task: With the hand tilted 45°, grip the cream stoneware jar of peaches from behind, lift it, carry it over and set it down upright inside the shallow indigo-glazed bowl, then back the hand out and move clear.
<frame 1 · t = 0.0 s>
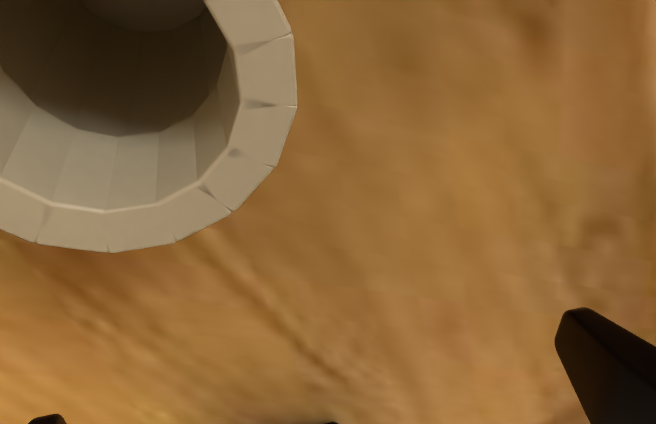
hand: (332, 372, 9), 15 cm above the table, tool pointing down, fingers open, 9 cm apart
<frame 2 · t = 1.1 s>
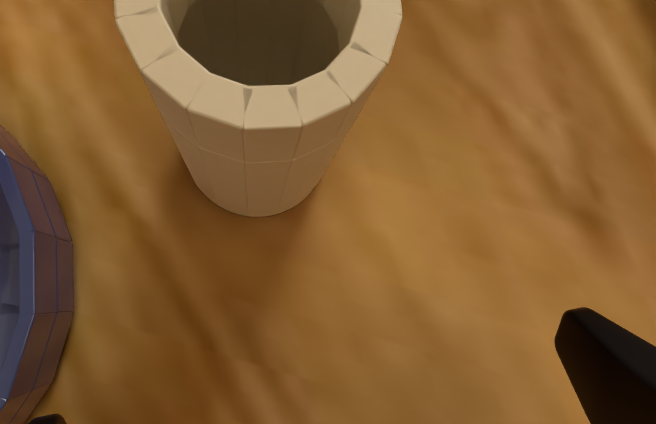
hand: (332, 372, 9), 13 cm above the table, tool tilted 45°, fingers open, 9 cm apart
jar: (256, 148, 24), on the table
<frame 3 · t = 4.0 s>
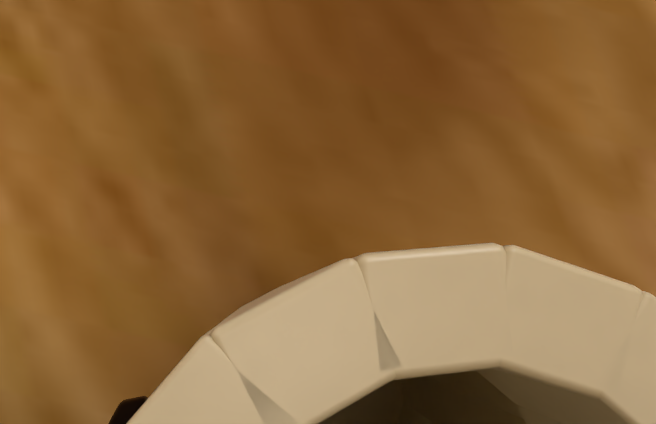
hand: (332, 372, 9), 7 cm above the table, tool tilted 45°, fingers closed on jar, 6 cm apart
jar: (306, 390, 16), on the table, touching gripper
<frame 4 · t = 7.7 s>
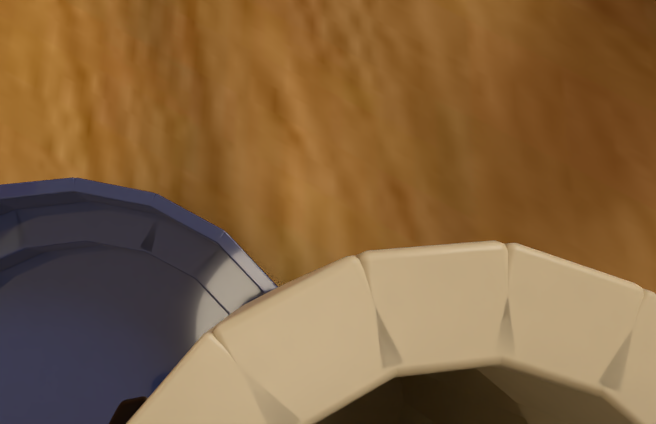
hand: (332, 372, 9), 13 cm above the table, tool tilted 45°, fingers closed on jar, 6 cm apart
bowl: (91, 416, 21), on the table
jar: (306, 389, 16), point 7 cm above the table, touching gripper
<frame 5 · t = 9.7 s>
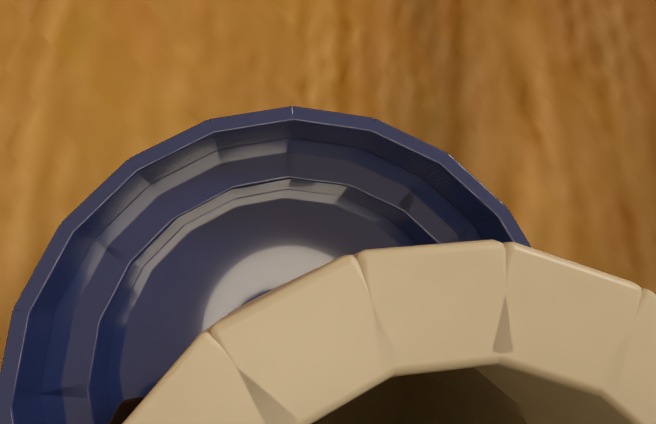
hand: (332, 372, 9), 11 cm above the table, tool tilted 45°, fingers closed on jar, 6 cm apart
bowl: (293, 364, 20), on the table
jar: (306, 389, 16), point 5 cm above the table, touching gripper
when the fingers open (7 cm above the table, at t = 11.4 s): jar stays where it is, resting on bowl.
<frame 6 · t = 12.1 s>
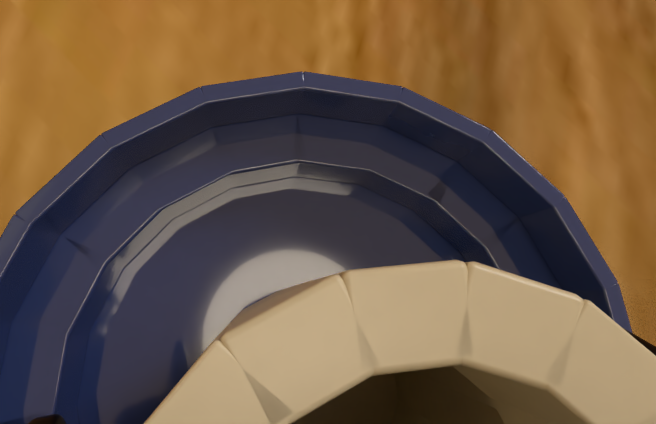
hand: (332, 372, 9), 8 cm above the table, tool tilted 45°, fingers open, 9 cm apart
bowl: (303, 384, 17), on the table
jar: (305, 388, 17), point 1 cm above the table, touching bowl
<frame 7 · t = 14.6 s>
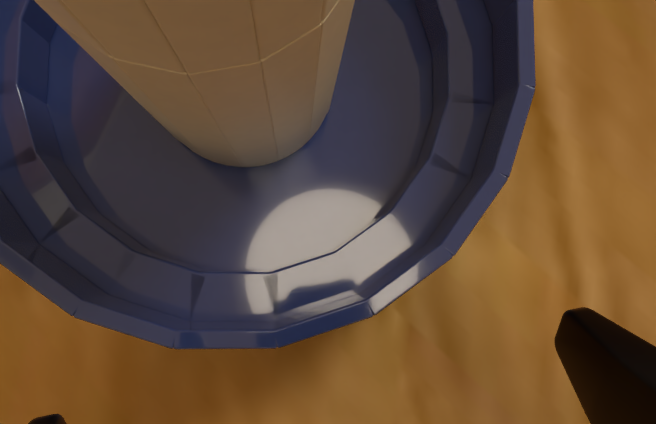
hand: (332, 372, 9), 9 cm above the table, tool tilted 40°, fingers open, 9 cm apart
bowl: (246, 84, 19), on the table
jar: (244, 80, 19), point 1 cm above the table, touching bowl
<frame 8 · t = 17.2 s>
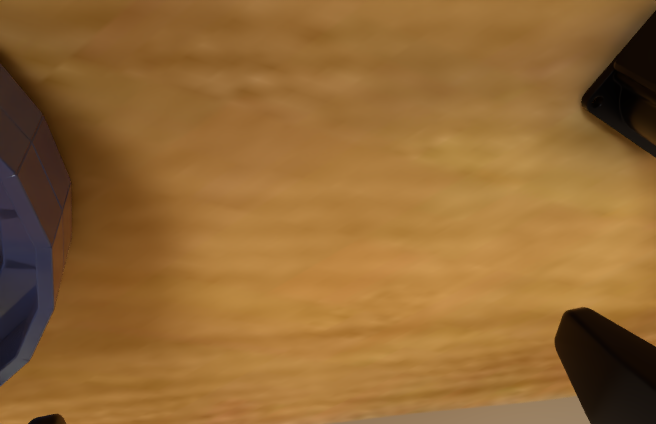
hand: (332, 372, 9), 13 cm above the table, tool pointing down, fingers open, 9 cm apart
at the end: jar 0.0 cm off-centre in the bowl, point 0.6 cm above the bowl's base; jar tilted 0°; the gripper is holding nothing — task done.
